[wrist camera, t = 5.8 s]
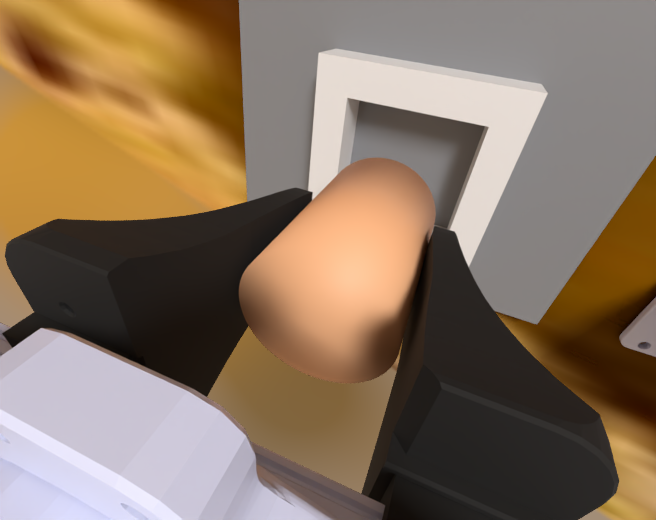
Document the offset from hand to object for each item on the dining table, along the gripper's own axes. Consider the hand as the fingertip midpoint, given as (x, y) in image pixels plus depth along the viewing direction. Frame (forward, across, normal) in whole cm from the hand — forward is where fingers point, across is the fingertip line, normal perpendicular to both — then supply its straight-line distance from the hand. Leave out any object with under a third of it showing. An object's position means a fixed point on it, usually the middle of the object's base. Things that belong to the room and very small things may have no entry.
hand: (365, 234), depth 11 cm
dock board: (+8, 0, 0) cm, 8 cm away
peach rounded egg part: (+2, 0, 0) cm, 2 cm away
